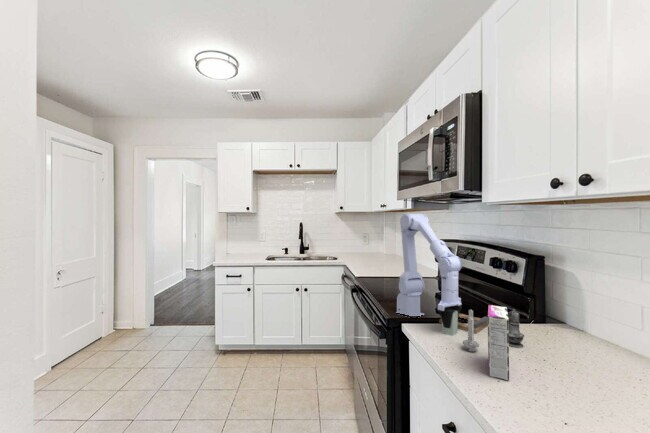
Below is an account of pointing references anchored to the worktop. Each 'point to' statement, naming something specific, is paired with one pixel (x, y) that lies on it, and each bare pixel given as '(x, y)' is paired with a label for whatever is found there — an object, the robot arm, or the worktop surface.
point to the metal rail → (480, 322)
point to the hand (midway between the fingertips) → (449, 326)
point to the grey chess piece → (514, 330)
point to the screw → (470, 334)
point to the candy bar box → (498, 342)
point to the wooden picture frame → (465, 326)
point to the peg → (452, 325)
